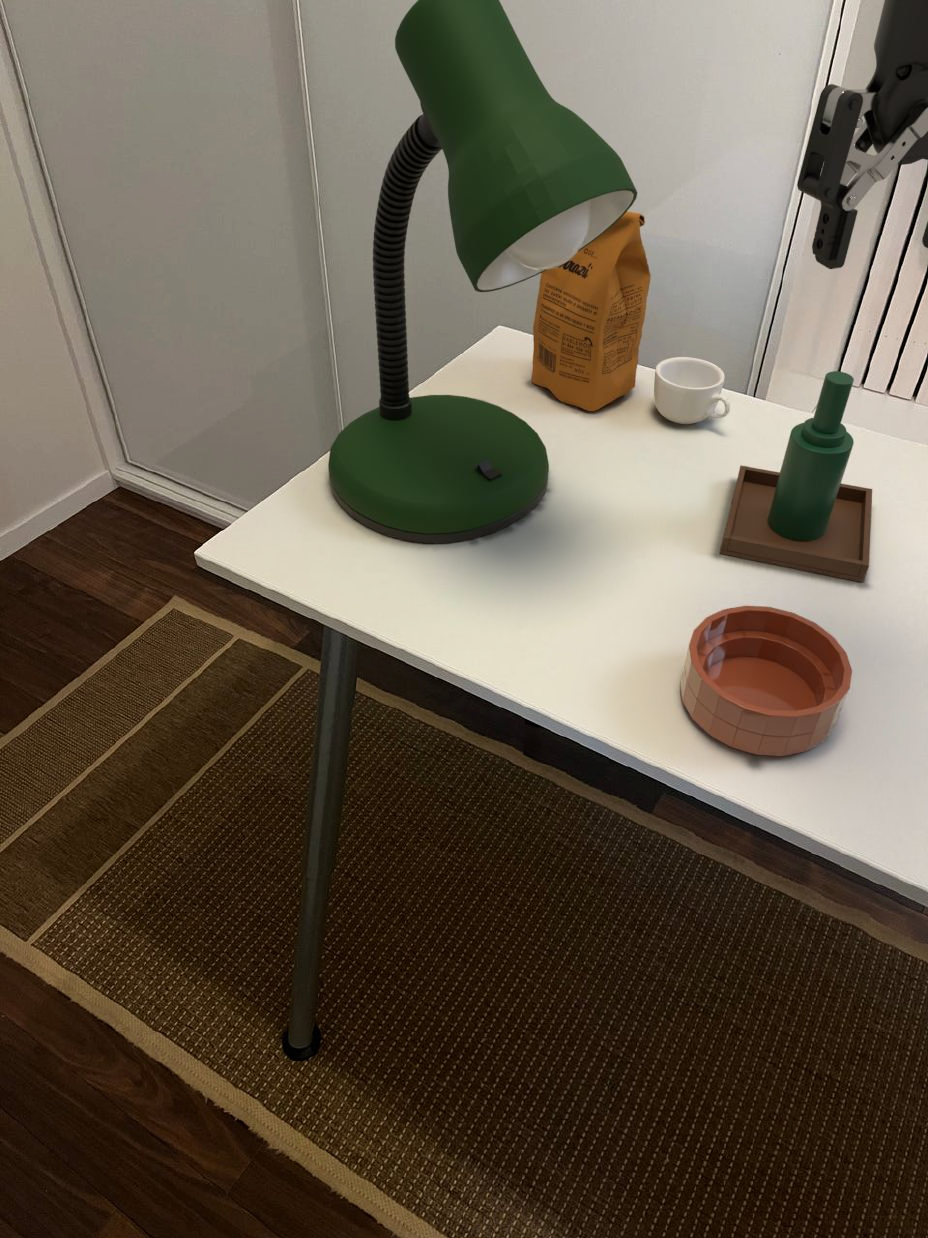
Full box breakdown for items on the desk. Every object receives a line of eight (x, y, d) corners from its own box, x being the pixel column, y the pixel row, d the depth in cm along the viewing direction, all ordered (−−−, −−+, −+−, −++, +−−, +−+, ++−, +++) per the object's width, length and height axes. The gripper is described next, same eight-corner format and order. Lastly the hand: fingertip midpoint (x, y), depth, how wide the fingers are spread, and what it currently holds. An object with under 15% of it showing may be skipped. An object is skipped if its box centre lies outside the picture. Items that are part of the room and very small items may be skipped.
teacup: (635, 411, 111) (641, 369, 107) (679, 391, 114) (686, 350, 111) (701, 447, 105) (709, 403, 101) (744, 425, 108) (754, 382, 105)
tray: (866, 505, 97) (872, 488, 95) (862, 582, 87) (869, 565, 86) (736, 481, 100) (740, 465, 99) (719, 553, 91) (723, 536, 89)
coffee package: (576, 356, 121) (592, 176, 106) (646, 394, 114) (673, 206, 99) (517, 379, 117) (525, 194, 102) (586, 420, 109) (605, 226, 94)
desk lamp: (648, 521, 95) (736, -12, 64) (478, 617, 84) (488, 31, 54) (452, 403, 112) (450, -60, 82) (291, 470, 101) (220, -34, 71)
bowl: (859, 695, 77) (877, 651, 73) (792, 786, 70) (809, 742, 67) (725, 629, 83) (736, 586, 79) (651, 708, 76) (660, 663, 72)
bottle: (834, 522, 94) (883, 375, 83) (810, 548, 90) (857, 399, 80) (782, 501, 96) (823, 356, 86) (757, 526, 93) (795, 378, 82)
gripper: (903, -24, 47) (825, 292, 58) (1123, -38, 51) (1011, 263, 61) (815, -41, 53) (758, 251, 63) (1019, -53, 56) (933, 226, 67)
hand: (882, 256), depth 62 cm, fingers open, 8 cm apart
